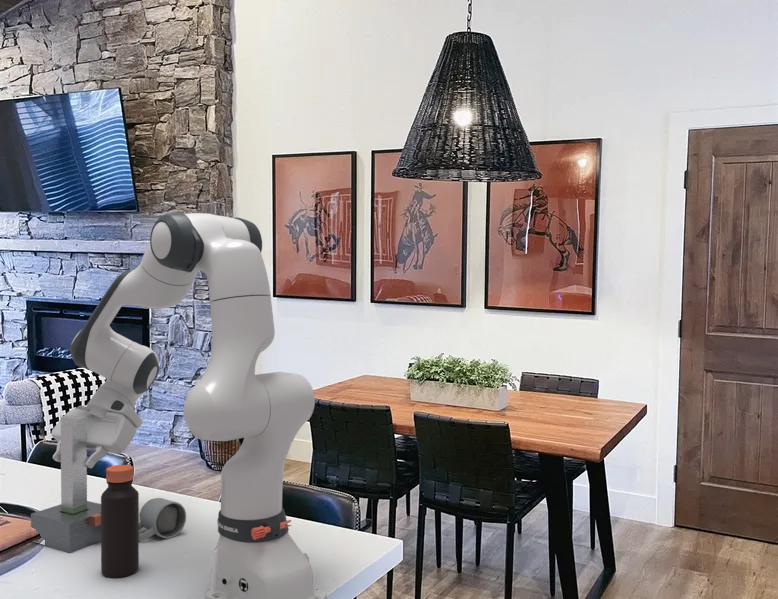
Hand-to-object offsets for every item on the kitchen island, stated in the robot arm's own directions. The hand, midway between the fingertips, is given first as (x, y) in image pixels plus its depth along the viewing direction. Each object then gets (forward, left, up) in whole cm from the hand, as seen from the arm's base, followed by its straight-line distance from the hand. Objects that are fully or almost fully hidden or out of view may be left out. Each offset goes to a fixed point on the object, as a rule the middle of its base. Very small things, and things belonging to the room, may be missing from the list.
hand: (71, 463), depth 164 cm
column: (0, -1, -12) cm, 12 cm away
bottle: (-23, 0, -17) cm, 28 cm away
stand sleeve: (0, -1, -16) cm, 16 cm away
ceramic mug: (-10, -14, -17) cm, 24 cm away
